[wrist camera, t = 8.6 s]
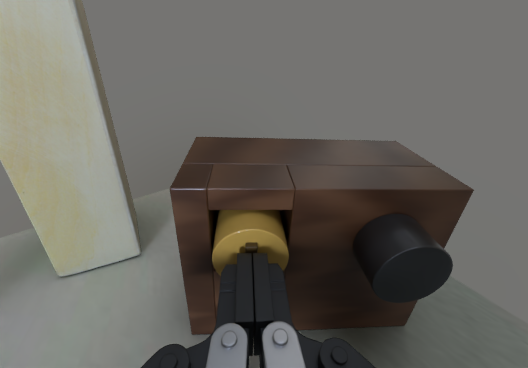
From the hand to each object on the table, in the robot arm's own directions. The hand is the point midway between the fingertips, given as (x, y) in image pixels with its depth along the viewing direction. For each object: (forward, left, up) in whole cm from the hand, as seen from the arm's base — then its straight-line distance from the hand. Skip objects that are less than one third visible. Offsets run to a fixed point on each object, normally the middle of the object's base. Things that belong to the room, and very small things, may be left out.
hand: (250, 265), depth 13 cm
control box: (+4, +4, -8) cm, 10 cm away
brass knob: (0, +2, -2) cm, 3 cm away
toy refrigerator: (-15, +12, -9) cm, 21 cm away
